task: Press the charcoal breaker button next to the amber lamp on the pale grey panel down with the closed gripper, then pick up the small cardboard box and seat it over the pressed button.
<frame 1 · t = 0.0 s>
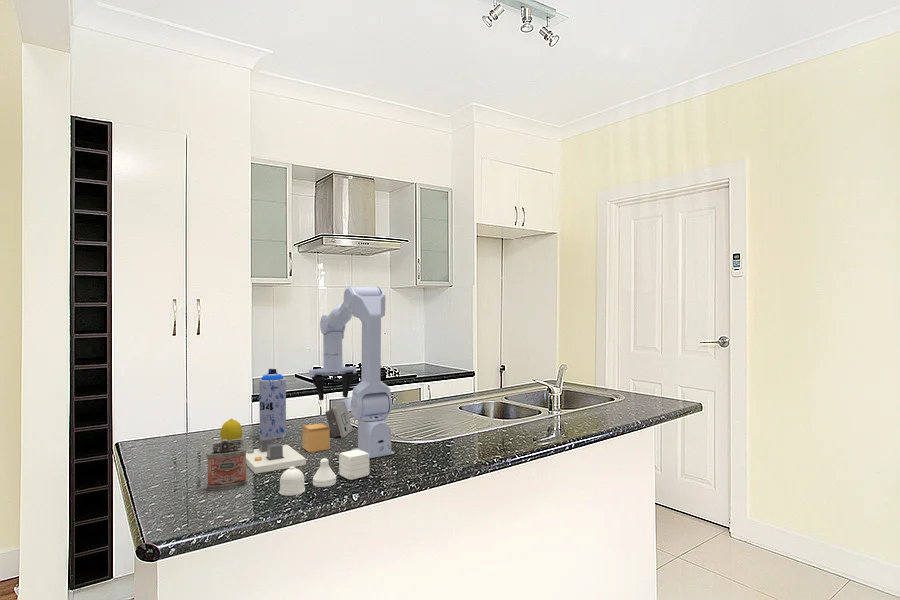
hand: (333, 398, 166), 10 cm above the counter, fingers open, 7 cm apart
small cardboard box: (316, 448, 146), on the counter
lemon: (231, 448, 148), on the counter
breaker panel: (272, 461, 135), on the counter
electrical switch: (339, 435, 162), on the counter
breaker button: (274, 451, 133), point 3 cm above the counter, slide at 0.0 cm
lighter: (227, 486, 117), on the counter
container set: (324, 485, 118), on the counter
aerosol can: (273, 436, 161), on the counter
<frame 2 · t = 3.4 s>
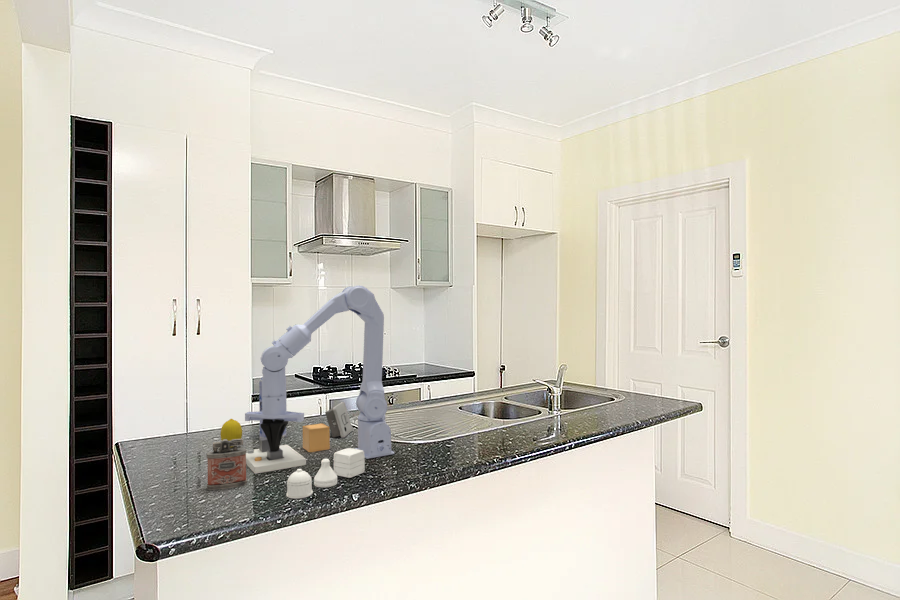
hand: (274, 450, 133), 3 cm above the counter, fingers closed, pressing on breaker button
breaker button: (274, 456, 133), point 2 cm above the counter, slide at 1.2 cm, touching gripper
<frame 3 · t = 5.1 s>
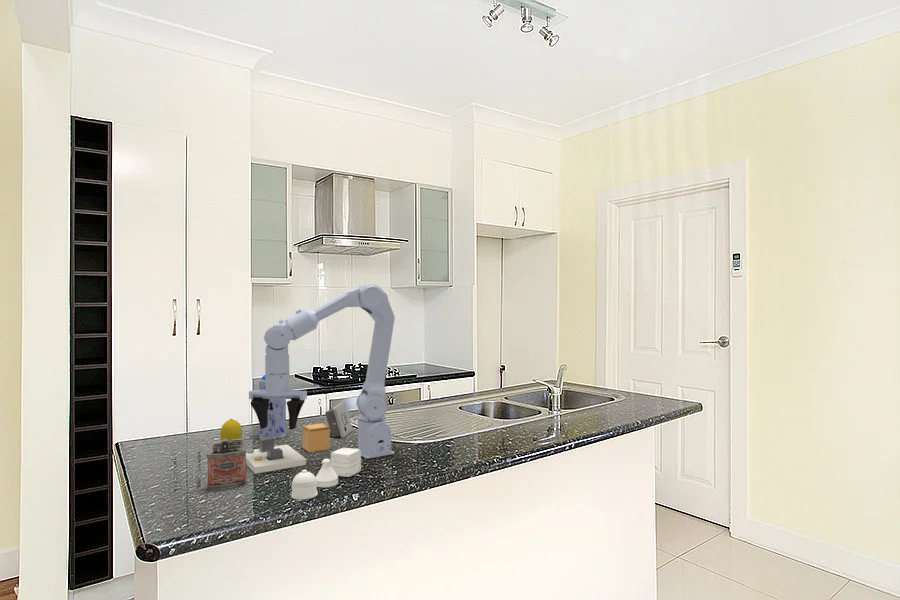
hand: (278, 428, 134), 8 cm above the counter, fingers open, 7 cm apart
breaker button: (274, 456, 133), point 2 cm above the counter, slide at 1.2 cm
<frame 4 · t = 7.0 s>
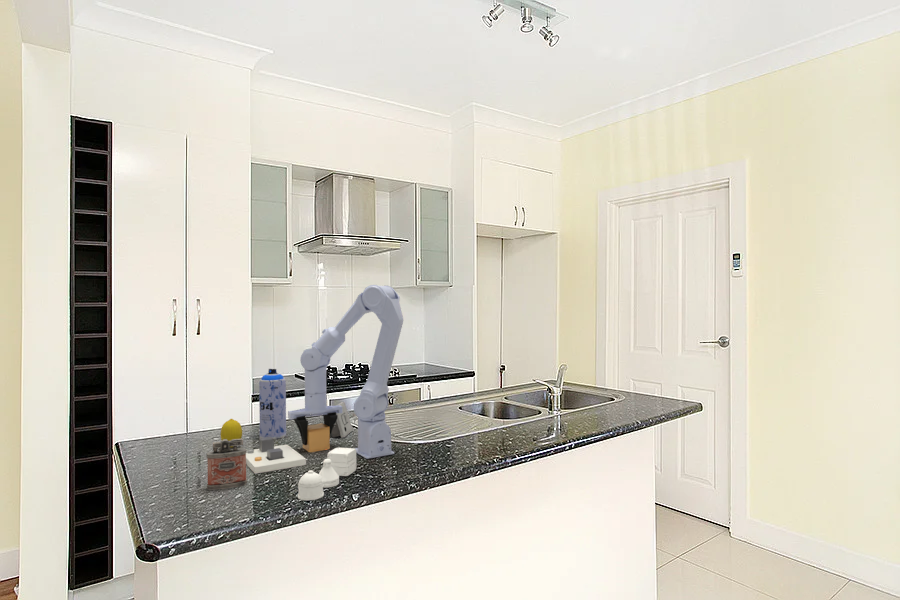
hand: (316, 442, 146), 2 cm above the counter, fingers closed on small cardboard box, 6 cm apart
small cardboard box: (316, 448, 146), on the counter, touching gripper
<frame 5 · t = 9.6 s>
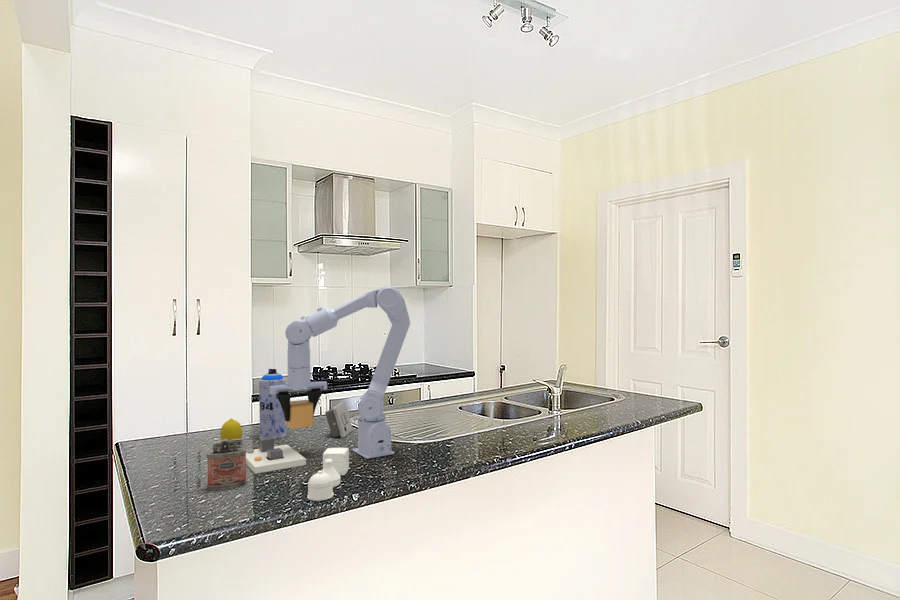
hand: (299, 419, 141), 9 cm above the counter, fingers closed on small cardboard box, 6 cm apart
small cardboard box: (299, 425, 141), point 8 cm above the counter, touching gripper
when the fingers open (4 cm above the counter, at t = 12.1 s): small cardboard box stays where it is, resting on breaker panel.
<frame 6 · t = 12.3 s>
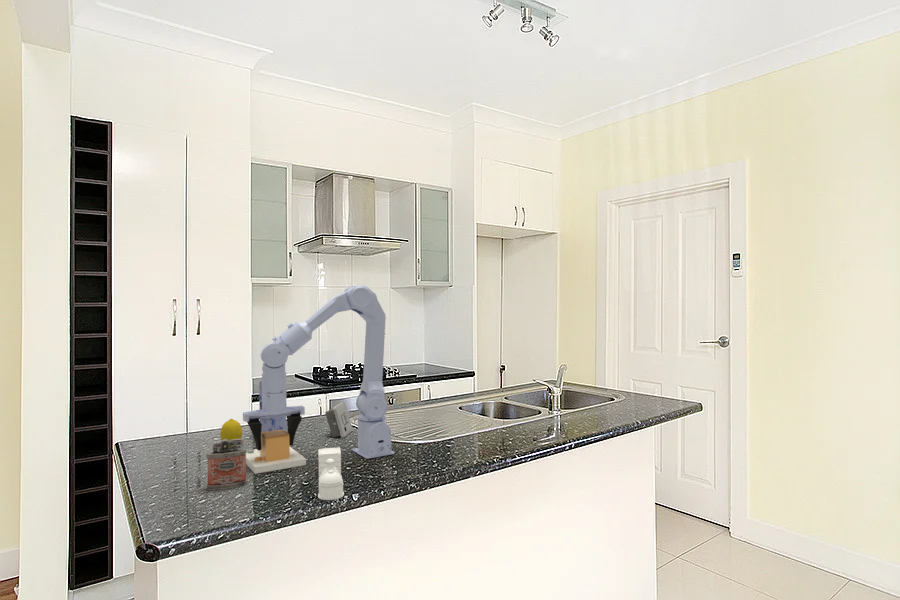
hand: (274, 446, 133), 4 cm above the counter, fingers open, 7 cm apart
small cardboard box: (274, 457, 133), point 1 cm above the counter, touching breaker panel
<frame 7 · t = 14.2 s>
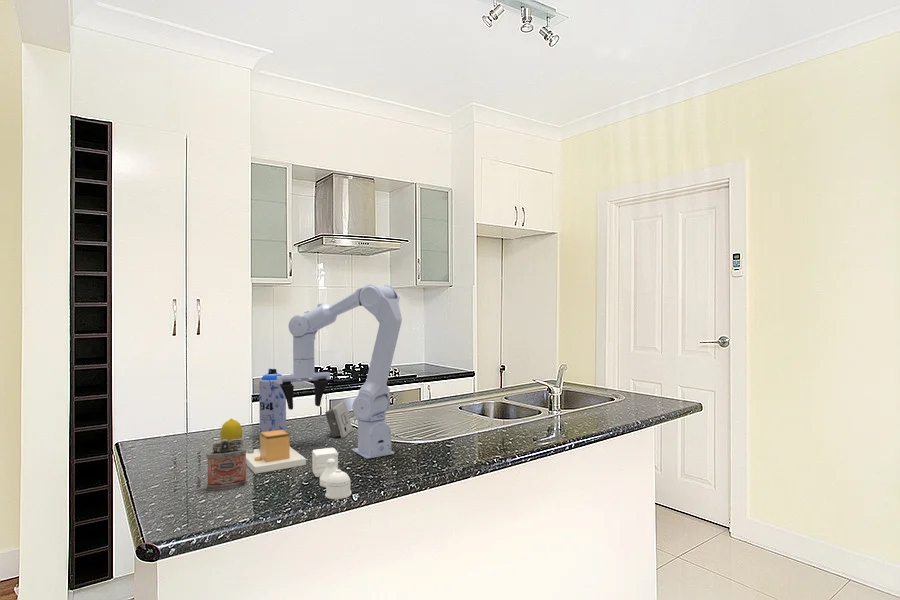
hand: (304, 407, 150), 10 cm above the counter, fingers open, 7 cm apart
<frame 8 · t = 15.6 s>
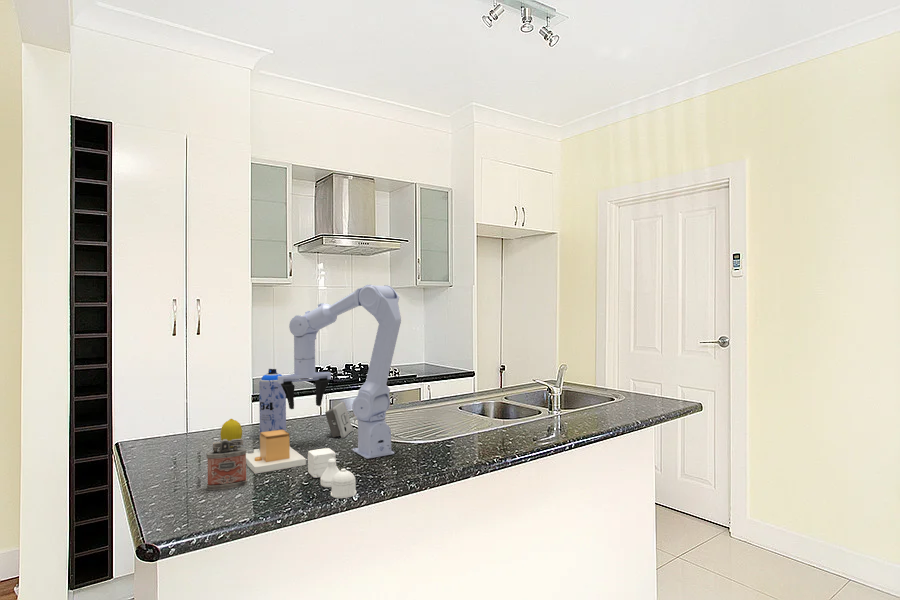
hand: (305, 407, 151), 10 cm above the counter, fingers open, 7 cm apart
at the end: breaker button slide at 1.2 cm; small cardboard box 0.1 cm from the target spot on the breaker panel, point 1.5 cm above the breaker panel's base; small cardboard box tilted 0° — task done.
